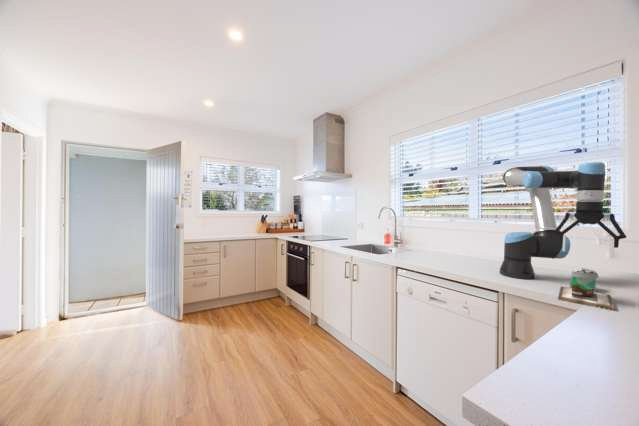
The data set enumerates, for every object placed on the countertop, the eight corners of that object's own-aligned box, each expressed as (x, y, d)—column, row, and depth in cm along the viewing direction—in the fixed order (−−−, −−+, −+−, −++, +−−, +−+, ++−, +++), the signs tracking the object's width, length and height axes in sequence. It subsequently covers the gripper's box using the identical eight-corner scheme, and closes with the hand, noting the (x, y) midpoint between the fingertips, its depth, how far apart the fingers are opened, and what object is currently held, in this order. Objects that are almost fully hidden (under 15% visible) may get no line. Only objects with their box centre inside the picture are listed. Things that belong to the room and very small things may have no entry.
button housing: (570, 288, 119) (570, 281, 119) (570, 284, 125) (570, 278, 124) (595, 292, 113) (595, 285, 113) (594, 288, 119) (595, 281, 119)
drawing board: (558, 299, 104) (558, 296, 104) (560, 288, 118) (560, 285, 118) (614, 310, 94) (614, 307, 94) (609, 297, 108) (610, 294, 108)
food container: (591, 300, 100) (592, 275, 99) (570, 295, 105) (571, 271, 105) (601, 295, 106) (603, 271, 106) (581, 290, 111) (582, 267, 111)
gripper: (547, 201, 111) (545, 249, 112) (639, 201, 93) (635, 259, 94) (549, 201, 116) (547, 247, 117) (636, 201, 98) (633, 256, 99)
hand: (586, 253), depth 106 cm, fingers open, 13 cm apart
